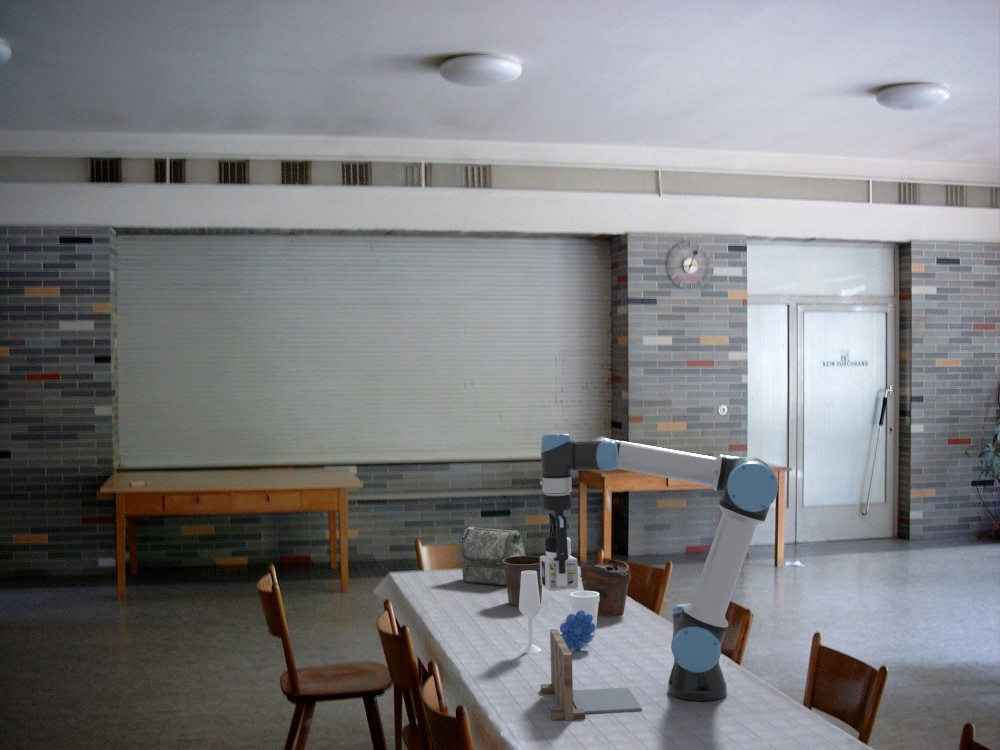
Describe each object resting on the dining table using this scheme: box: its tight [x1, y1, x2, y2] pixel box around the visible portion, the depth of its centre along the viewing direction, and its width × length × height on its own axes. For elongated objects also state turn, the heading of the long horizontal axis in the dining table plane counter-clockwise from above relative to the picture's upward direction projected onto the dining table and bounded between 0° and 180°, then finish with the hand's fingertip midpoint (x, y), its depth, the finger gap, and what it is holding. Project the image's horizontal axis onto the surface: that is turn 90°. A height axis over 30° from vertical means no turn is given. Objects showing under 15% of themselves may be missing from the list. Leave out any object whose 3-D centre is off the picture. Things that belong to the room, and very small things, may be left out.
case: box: [579, 559, 632, 617], centre depth 345 cm, size 18×20×18 cm
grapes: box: [559, 611, 597, 651], centre depth 299 cm, size 12×7×12 cm, turn 103°
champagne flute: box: [518, 570, 542, 654], centre depth 299 cm, size 7×7×24 cm
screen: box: [539, 628, 586, 721], centre depth 250 cm, size 24×8×16 cm, turn 5°
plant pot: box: [502, 555, 543, 607], centre depth 360 cm, size 16×16×16 cm
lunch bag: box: [458, 525, 527, 587], centre depth 400 cm, size 26×18×22 cm
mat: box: [573, 687, 643, 714], centre depth 251 cm, size 16×16×1 cm
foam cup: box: [569, 590, 599, 637], centre depth 316 cm, size 10×9×13 cm
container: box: [539, 536, 579, 592], centre depth 250 cm, size 8×8×13 cm
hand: (559, 582), depth 250 cm, fingers closed on container, 8 cm apart
